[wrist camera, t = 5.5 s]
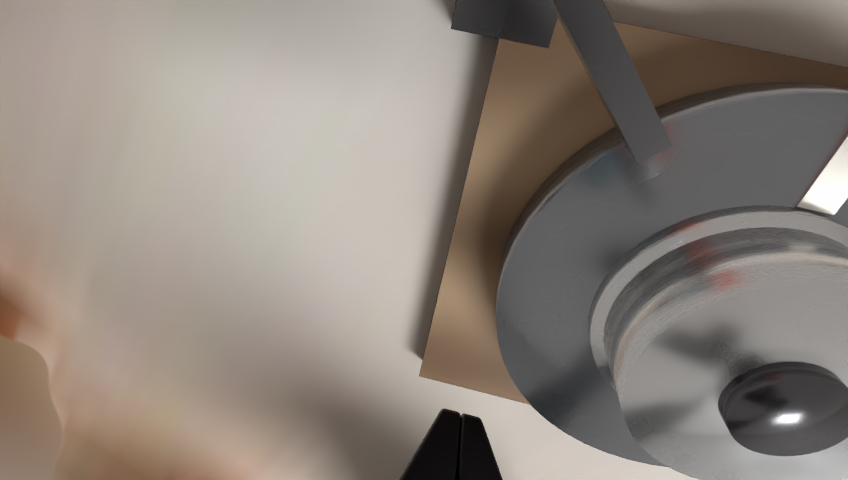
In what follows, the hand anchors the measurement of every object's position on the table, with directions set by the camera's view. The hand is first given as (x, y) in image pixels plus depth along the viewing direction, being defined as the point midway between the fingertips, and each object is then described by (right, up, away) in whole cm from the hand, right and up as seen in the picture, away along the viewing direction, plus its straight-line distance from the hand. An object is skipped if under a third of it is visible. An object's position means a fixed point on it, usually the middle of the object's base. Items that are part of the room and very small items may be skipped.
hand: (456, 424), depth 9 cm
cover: (+9, +1, +5) cm, 10 cm away
